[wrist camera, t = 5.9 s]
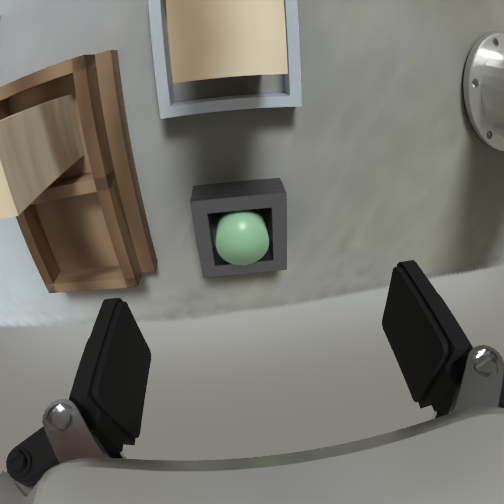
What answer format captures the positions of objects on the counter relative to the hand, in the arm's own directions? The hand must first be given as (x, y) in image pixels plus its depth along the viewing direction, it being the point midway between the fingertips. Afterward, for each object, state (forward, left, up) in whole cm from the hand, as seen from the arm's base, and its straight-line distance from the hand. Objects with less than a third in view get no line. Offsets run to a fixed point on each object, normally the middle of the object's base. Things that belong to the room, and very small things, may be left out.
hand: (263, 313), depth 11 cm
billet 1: (+14, -5, -15) cm, 22 cm away
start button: (0, +5, -16) cm, 17 cm away
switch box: (0, +5, -17) cm, 18 cm away
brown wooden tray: (+14, -1, -17) cm, 22 cm away
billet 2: (0, -10, -17) cm, 19 cm away
